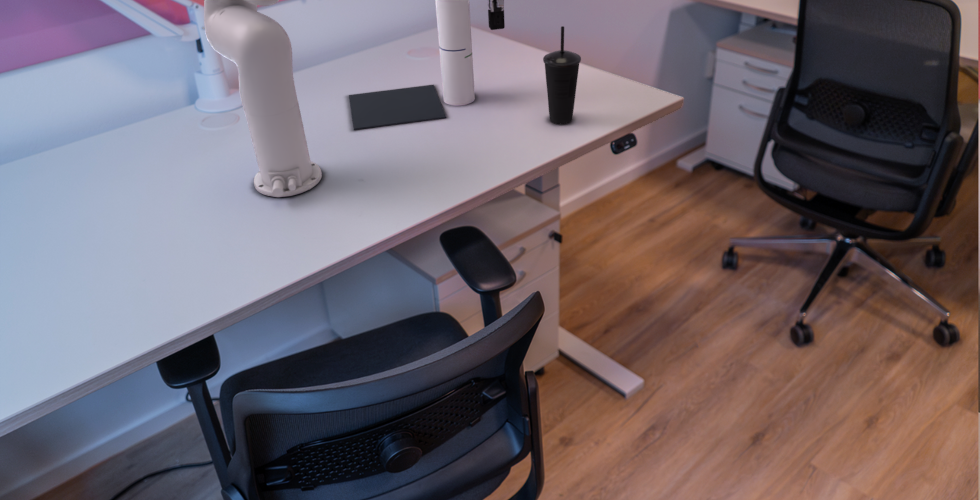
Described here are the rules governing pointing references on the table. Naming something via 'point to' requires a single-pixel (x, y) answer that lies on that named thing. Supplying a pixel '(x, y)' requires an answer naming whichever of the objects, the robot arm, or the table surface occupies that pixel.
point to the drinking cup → (561, 83)
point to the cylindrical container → (455, 51)
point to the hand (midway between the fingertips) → (496, 28)
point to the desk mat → (395, 107)
